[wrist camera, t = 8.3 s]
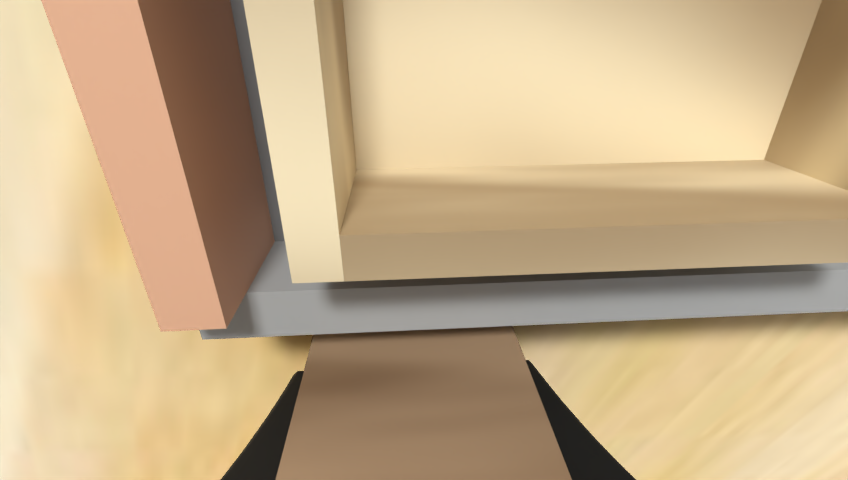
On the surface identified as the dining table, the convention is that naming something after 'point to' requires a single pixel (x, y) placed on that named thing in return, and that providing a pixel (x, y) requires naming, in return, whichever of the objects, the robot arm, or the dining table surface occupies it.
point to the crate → (553, 134)
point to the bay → (260, 216)
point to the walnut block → (420, 409)
